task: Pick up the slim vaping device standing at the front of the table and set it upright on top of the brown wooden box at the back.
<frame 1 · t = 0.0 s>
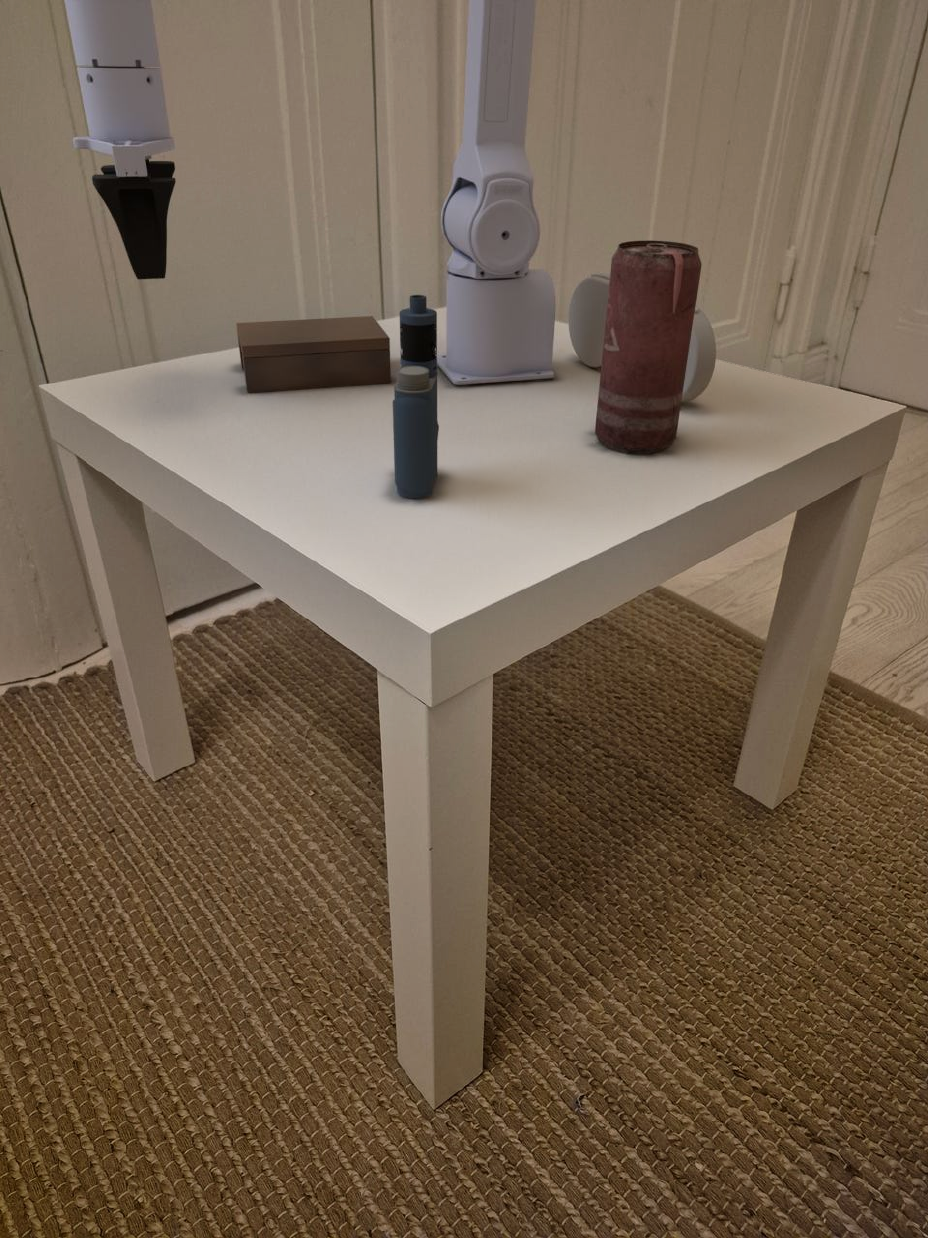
hand: (152, 268, 71), 10 cm above the table, tool pointing down, fingers open, 7 cm apart
can: (634, 443, 68), on the table
vaping device: (417, 487, 61), on the table
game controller: (630, 383, 81), on the table
brown wooden box: (314, 374, 81), on the table
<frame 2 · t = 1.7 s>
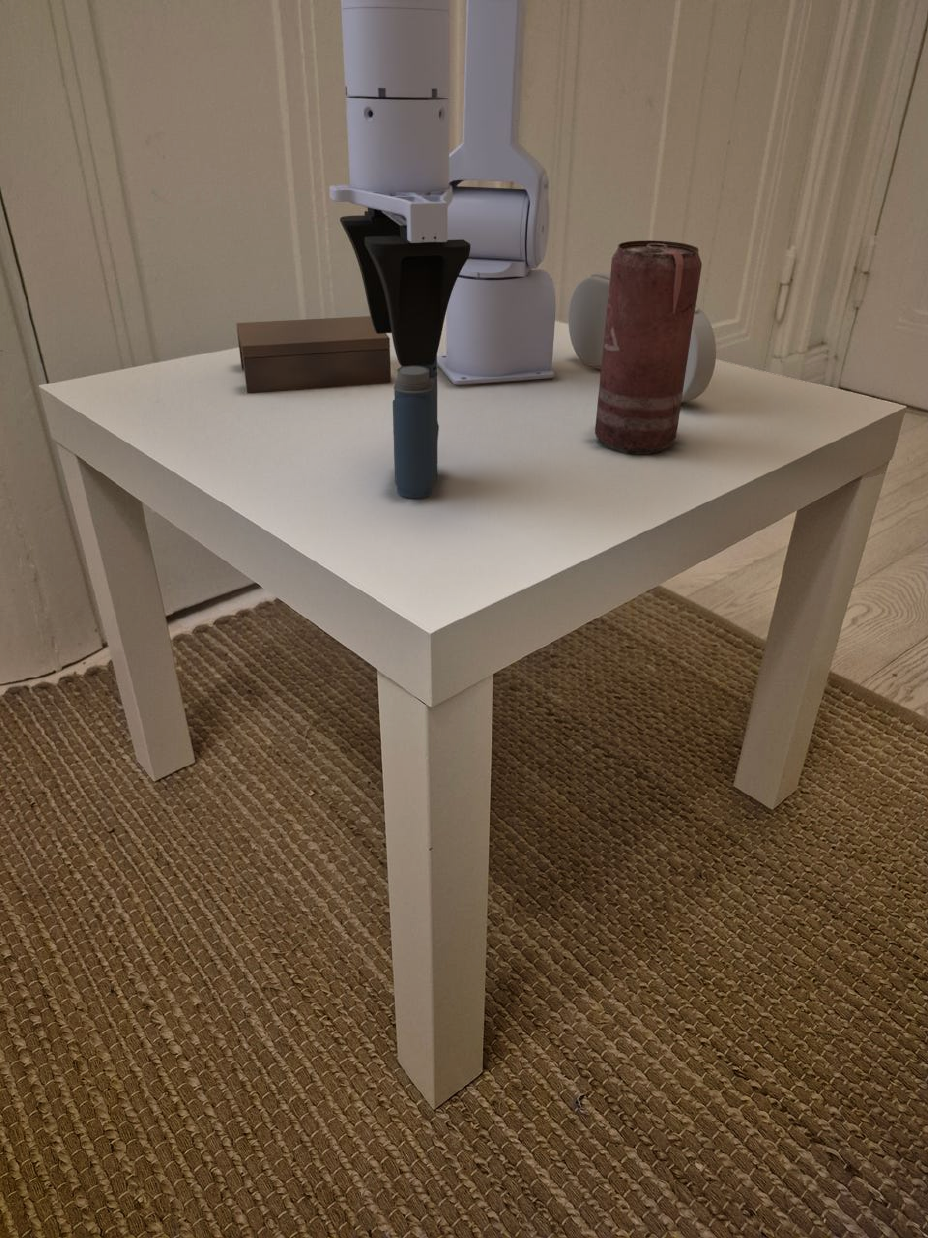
hand: (403, 346, 56), 9 cm above the table, tool pointing down, fingers open, 7 cm apart
nothing on the table moved.
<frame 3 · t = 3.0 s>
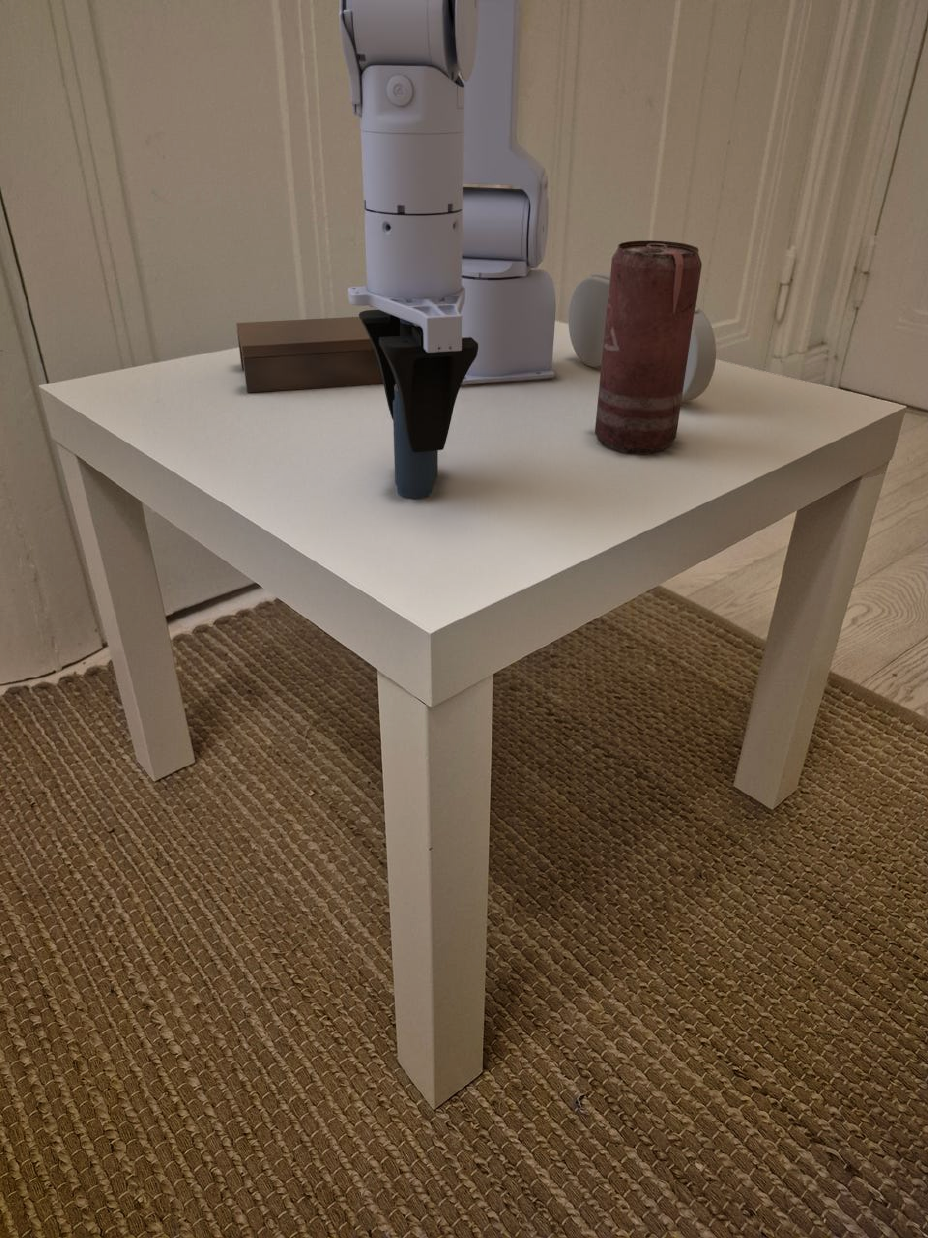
hand: (416, 433, 59), 4 cm above the table, tool pointing down, fingers closed on vaping device, 5 cm apart
vaping device: (417, 487, 61), on the table, touching gripper
everything else where it was.
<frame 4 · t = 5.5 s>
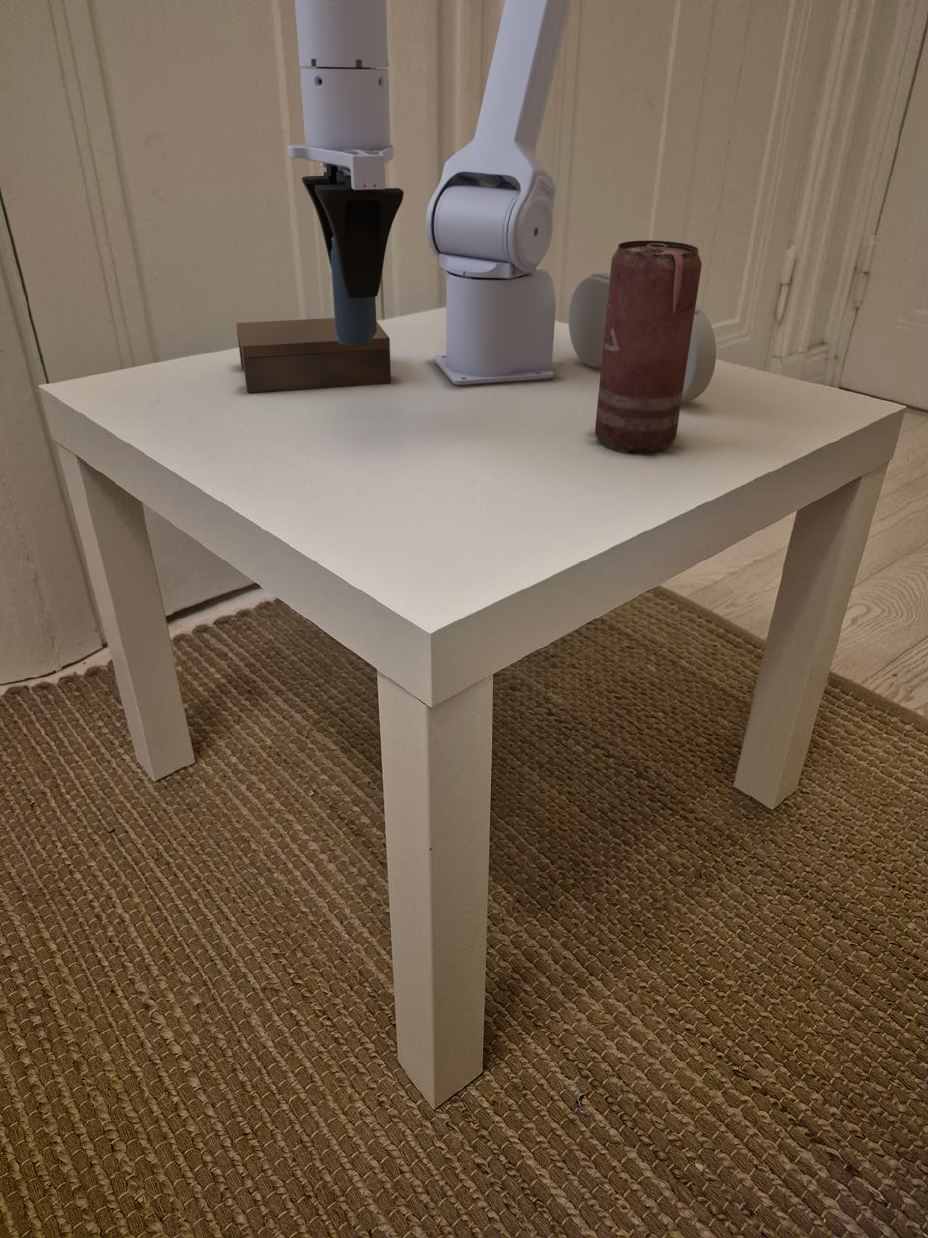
hand: (355, 287, 65), 10 cm above the table, tool pointing down, fingers closed on vaping device, 5 cm apart
vaping device: (357, 340, 67), point 7 cm above the table, touching gripper
everything else where it was.
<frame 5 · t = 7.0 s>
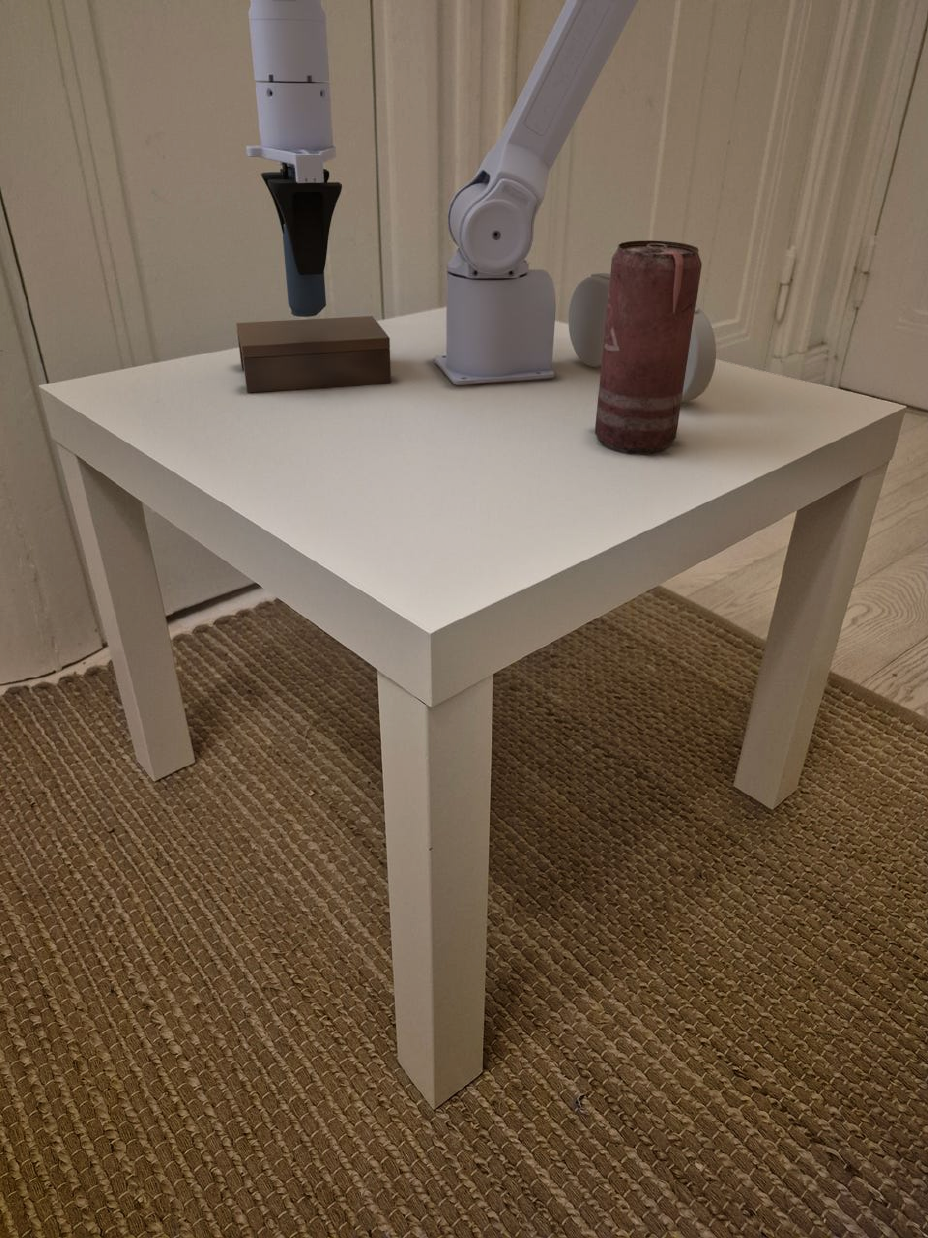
hand: (306, 267, 76), 9 cm above the table, tool pointing down, fingers closed on vaping device, 5 cm apart
vaping device: (308, 312, 78), point 6 cm above the table, touching gripper
everything else where it was.
when the fingers open (8 cm above the table, at t = 8.1 s): vaping device stays where it is, resting on brown wooden box.
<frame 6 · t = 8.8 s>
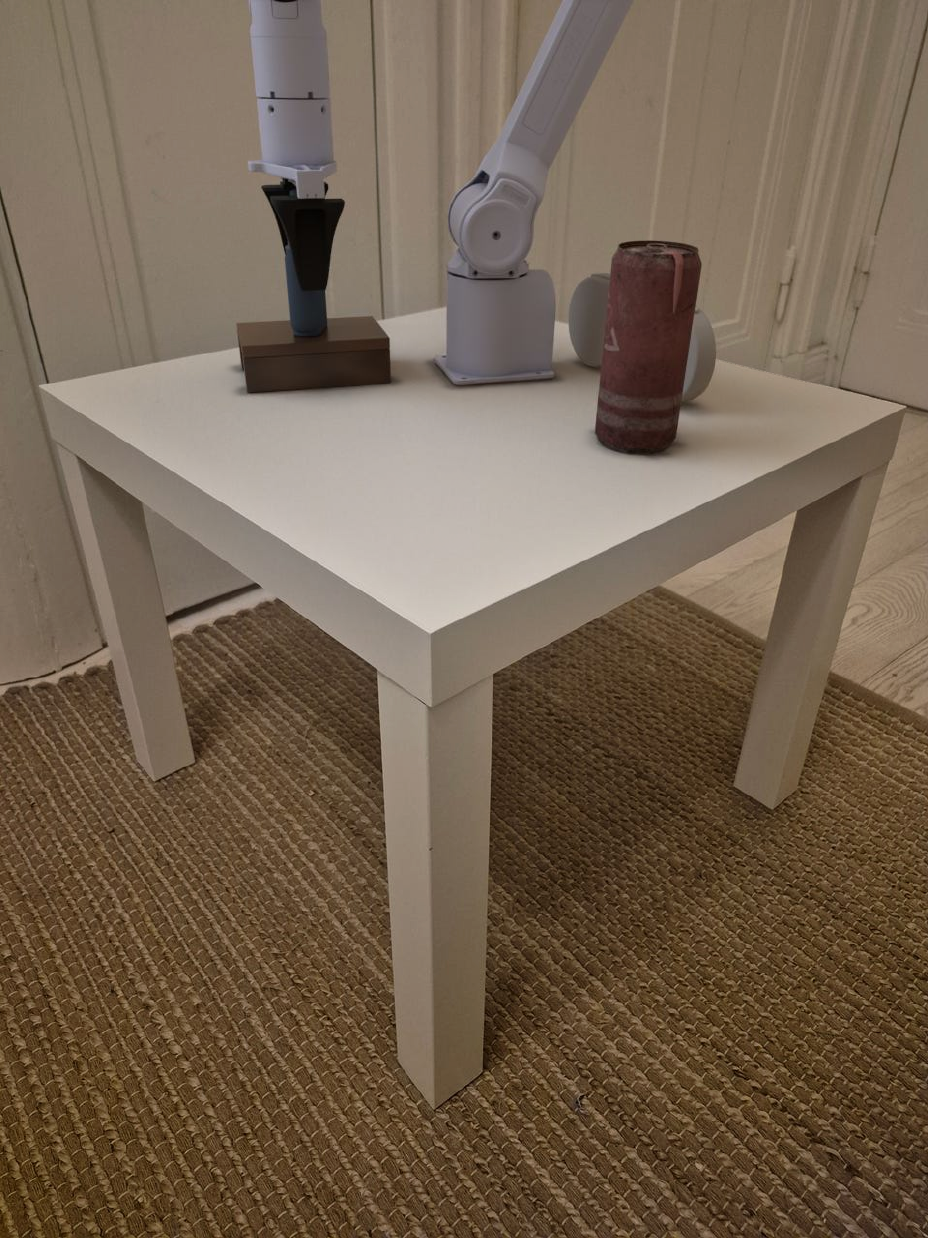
hand: (307, 280, 77), 8 cm above the table, tool pointing down, fingers open, 7 cm apart
vaping device: (310, 332, 79), point 4 cm above the table, touching brown wooden box
everything else where it was.
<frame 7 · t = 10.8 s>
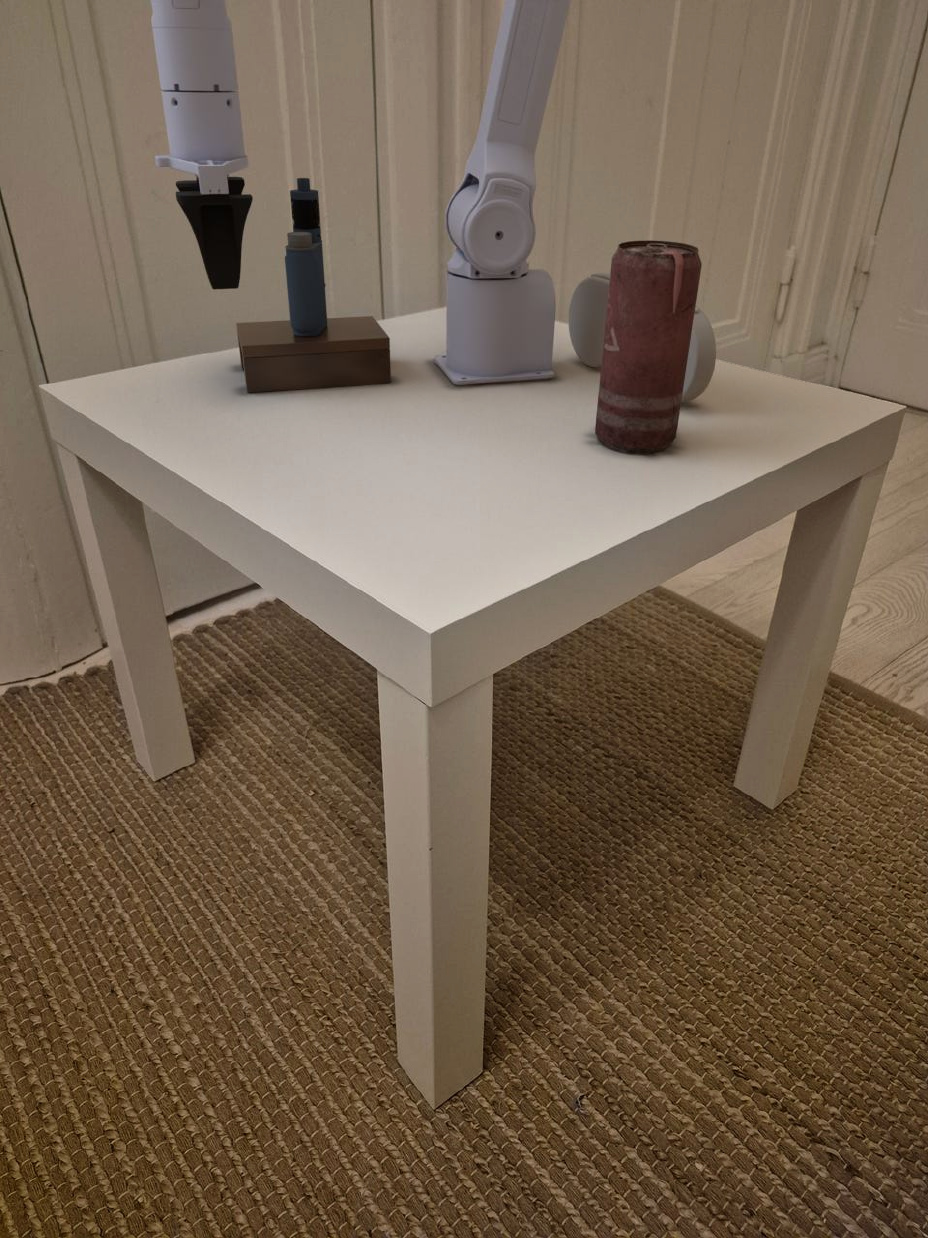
hand: (223, 278, 75), 9 cm above the table, tool pointing down, fingers open, 7 cm apart
nothing on the table moved.
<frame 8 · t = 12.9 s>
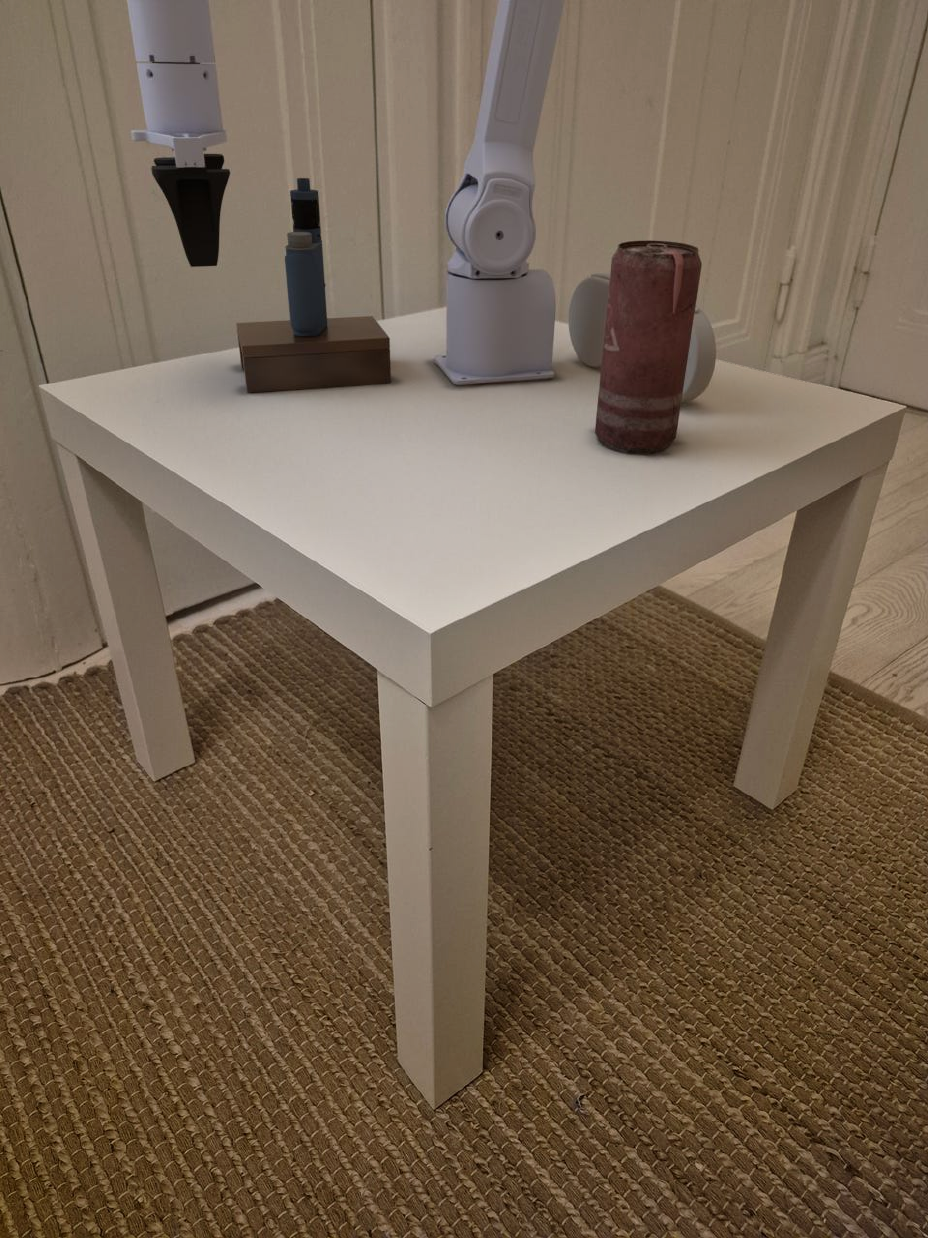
hand: (202, 256, 74), 10 cm above the table, tool pointing down, fingers open, 7 cm apart
nothing on the table moved.
at the end: vaping device inside the target area on the brown wooden box (0.1 cm from its centre), point 3.8 cm above the brown wooden box's base; vaping device tilted 0°; the gripper is holding nothing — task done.
